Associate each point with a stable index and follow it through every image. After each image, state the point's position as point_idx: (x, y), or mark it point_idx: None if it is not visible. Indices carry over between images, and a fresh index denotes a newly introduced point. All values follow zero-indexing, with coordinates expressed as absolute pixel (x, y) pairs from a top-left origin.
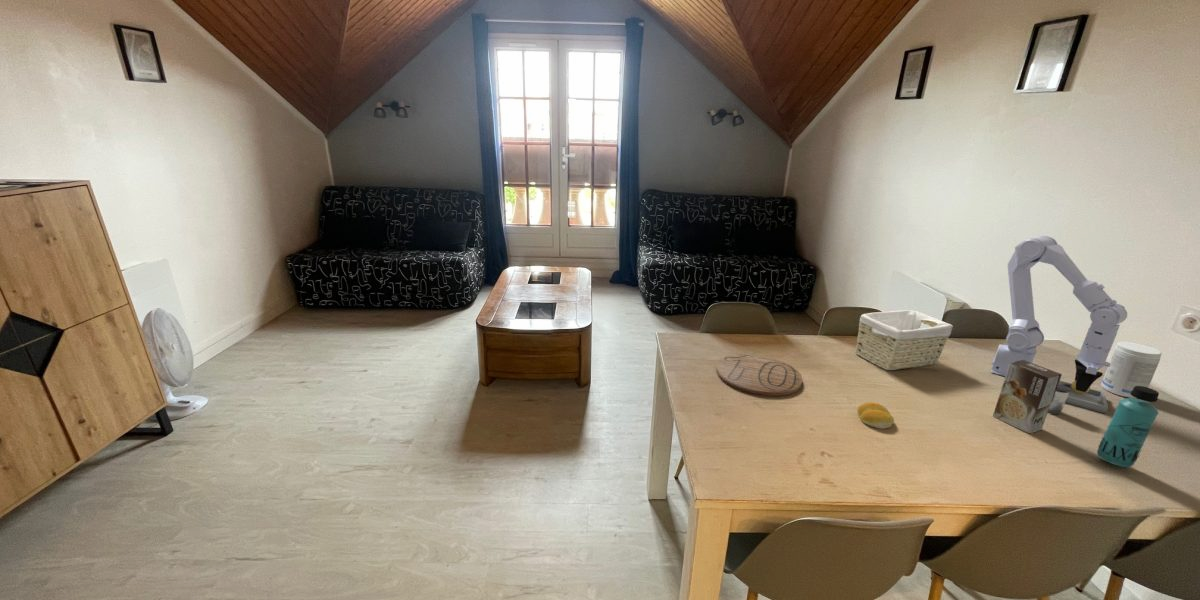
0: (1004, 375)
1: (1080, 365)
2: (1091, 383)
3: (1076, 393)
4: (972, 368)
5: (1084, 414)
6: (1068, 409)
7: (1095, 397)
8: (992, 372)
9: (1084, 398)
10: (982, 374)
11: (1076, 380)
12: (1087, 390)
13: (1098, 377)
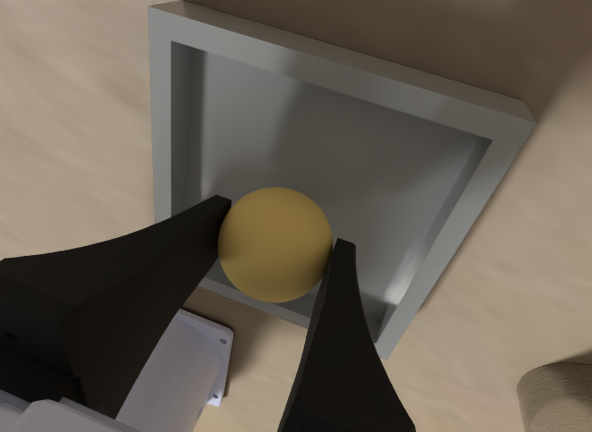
0: (224, 382)
1: (119, 384)
2: (362, 314)
3: (248, 179)
4: (220, 428)
5: (582, 255)
6: (522, 306)
7: (240, 74)
8: (221, 402)
9: (311, 164)
10: (258, 427)
11: (247, 295)
12: (322, 224)
13: (404, 410)
